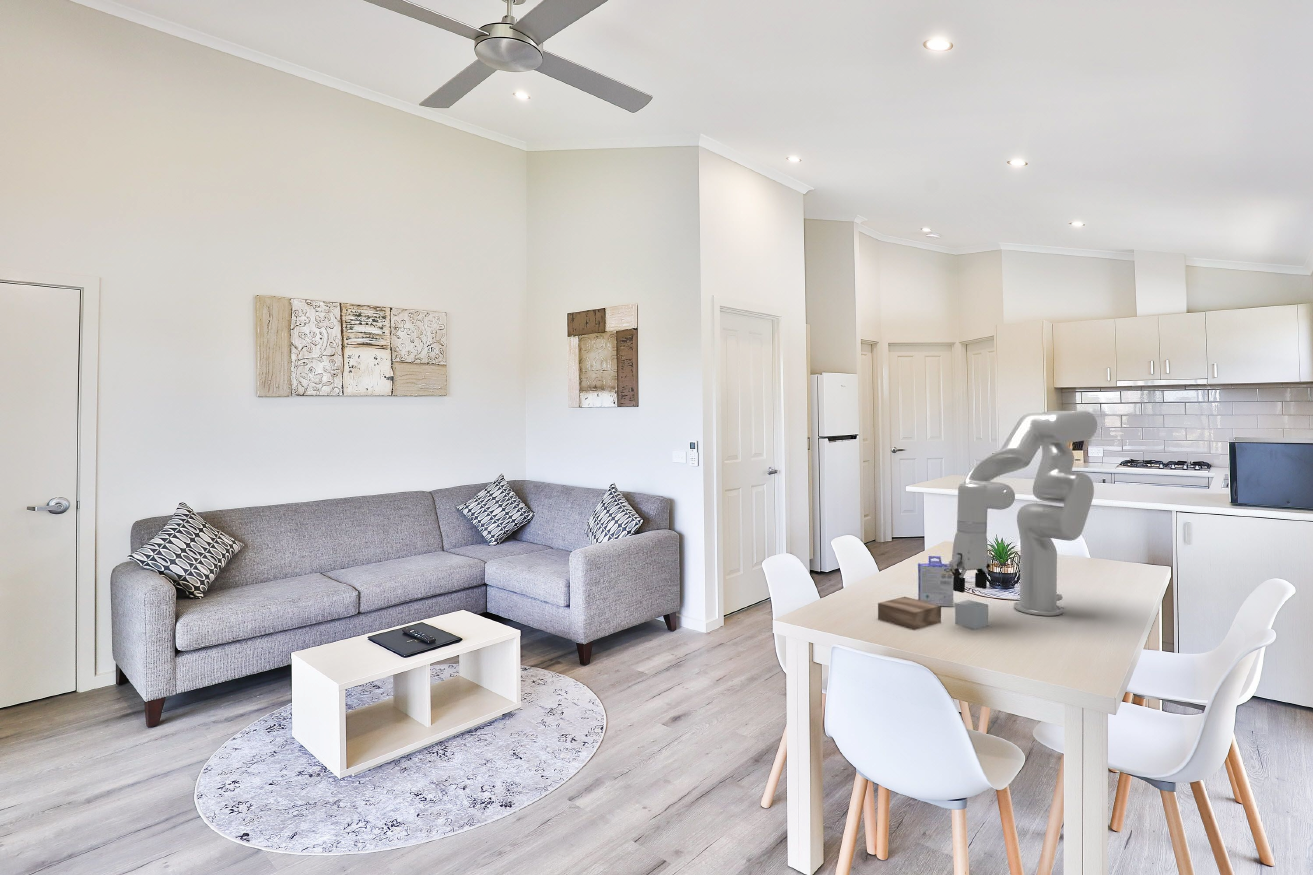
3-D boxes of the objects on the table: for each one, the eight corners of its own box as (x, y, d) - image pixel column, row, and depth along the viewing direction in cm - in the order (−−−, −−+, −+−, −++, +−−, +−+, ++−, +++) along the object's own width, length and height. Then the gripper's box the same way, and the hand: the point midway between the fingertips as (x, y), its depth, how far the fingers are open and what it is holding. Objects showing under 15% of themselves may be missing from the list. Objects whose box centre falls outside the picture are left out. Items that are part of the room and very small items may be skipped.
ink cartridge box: (950, 602, 217) (951, 555, 217) (954, 607, 212) (954, 559, 211) (917, 600, 219) (917, 554, 219) (920, 605, 214) (920, 558, 213)
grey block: (968, 620, 198) (968, 599, 198) (988, 626, 193) (988, 604, 193) (955, 624, 195) (955, 602, 195) (974, 629, 190) (975, 607, 190)
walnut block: (904, 613, 207) (904, 596, 207) (941, 623, 197) (941, 605, 197) (878, 620, 200) (878, 603, 200) (914, 630, 190) (914, 612, 190)
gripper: (978, 524, 201) (976, 583, 201) (939, 527, 192) (938, 590, 192) (1003, 527, 195) (1001, 589, 195) (964, 531, 185) (962, 596, 186)
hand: (969, 589), depth 194 cm, fingers open, 9 cm apart
